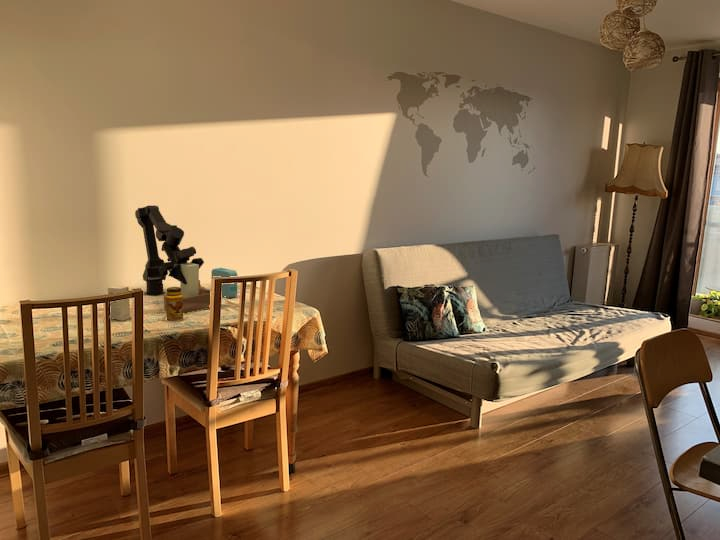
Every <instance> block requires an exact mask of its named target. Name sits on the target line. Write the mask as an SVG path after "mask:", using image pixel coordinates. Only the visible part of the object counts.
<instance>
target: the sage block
mask: <svg viewBox="0 0 720 540" xmlns="http://www.w3.org/2000/svg"><path fill="white" fill-rule="evenodd" d="M181 272H182V274H183V276H184V278H185V279H186V282H187V284H186V285H185V284H183V283H182V282H179V283H180V288H181V292H182V293H181V294H182V296H183V298H187V297H192V296H197V295H198V285H199V280H200V277H199V276H200V275H199V274H200V269H199V265H197V264H193V263H190V262H188V263H187V264H181Z"/></svg>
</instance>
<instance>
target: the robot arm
mask: <svg viewBox="0 0 720 540" xmlns="http://www.w3.org/2000/svg"><path fill="white" fill-rule="evenodd" d="M134 216H135V219H136V220H137V223H138V225H139V226H140V227H141V228H142V232H143V238H144V243H145V249H146V250H145V251H146V257H147V261H146V262H145V266H144V267H145V269H144V271H143V274H142V280H143V281H144V282H146V283H145V284H146V292H144V293H143V294H144V295H149V296H159V295H162V294H165V293H166V291H164V283H163V281H166V279H167V276H168V277H171V278H172V279H175V280H177V281H178V282H179V283H181V282H182V283H183V284H185V285H186V284H187V282H186V279H185V278H184V276H183V274H182V272H181V264H187V263H193V264H197V265H199V270H200V268H201V267H202V266H203V265H204V264H205V261H204V260H203V258H202V257H196V258H193V259H192V260H191V261H190V258H191V257H194V256H195V255H196V254H197V250H196V248H195V246H190V247H187V248H182V249H181V248H180V247H179V246H180V245H181V243H182V241H183V238H184V236H185V232H184V230H183V229H182V228H180V227H178V225H177V224H176V225H173V224H170V223H168V222H167V221H166V219H165V218H164V216H163V215H162V213H161V211H160V208H159V206H158V205H147V206H144V207H138V208H137V209H136V210H135V212H134ZM155 229H156V230H155ZM155 231H156V232H155ZM157 241H158V242H163V243H162V245H161V252H165V254H166V256H167V259H166V260H167V261H165V260H164V259H163V258H161V257H160V256H159V251H158V250H159V249H158V244H157ZM189 261H190V262H189Z"/></svg>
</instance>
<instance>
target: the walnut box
mask: <svg viewBox="0 0 720 540" xmlns="http://www.w3.org/2000/svg"><path fill="white" fill-rule="evenodd" d="M203 288H204V287H203ZM203 288H201V289H200V295H197V296H192V297H187V298H183V313H185V314H189V313H188V312H190V313H194V312H198V311H197V310H199V311H202V310H201V309H203V310H206V309H205V308H208V309H210V308H209V305H210V290H211V289H207V288H205V289H203ZM166 295H167V294H164V295H163V305H164V306H163V309H164V311H166ZM193 311H194V312H193Z"/></svg>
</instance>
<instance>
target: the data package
mask: <svg viewBox="0 0 720 540" xmlns="http://www.w3.org/2000/svg"><path fill="white" fill-rule="evenodd" d="M213 276H221V277H230V276H237V277H238V272H237V271H236V269H235V270H234V269H229V268H225V267H224V268H223V267H218V268H217V267H216V268H213V269H211V278H212V277H213ZM223 296H226V297H232V298H234V297H233V296H236V297H237V296H238V282H237V283H234V284H223V285H222V297H221V298H224V297H223Z"/></svg>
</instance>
